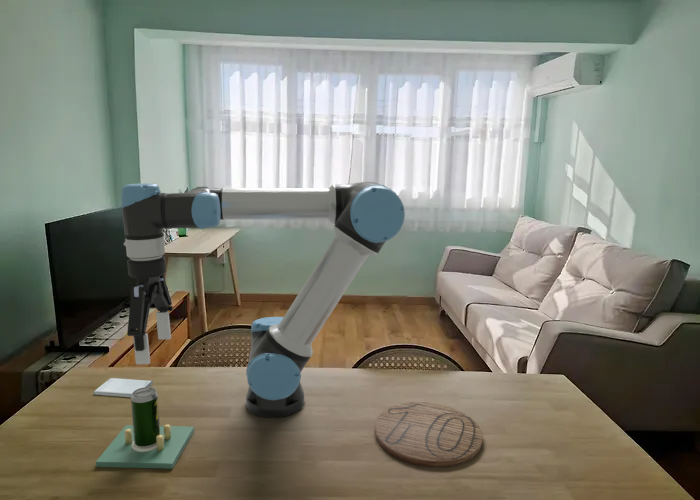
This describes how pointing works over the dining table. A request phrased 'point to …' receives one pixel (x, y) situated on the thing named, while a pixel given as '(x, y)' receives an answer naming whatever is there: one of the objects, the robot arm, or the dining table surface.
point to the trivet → (428, 434)
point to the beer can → (145, 417)
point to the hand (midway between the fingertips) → (154, 350)
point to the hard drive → (121, 387)
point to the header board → (157, 456)
